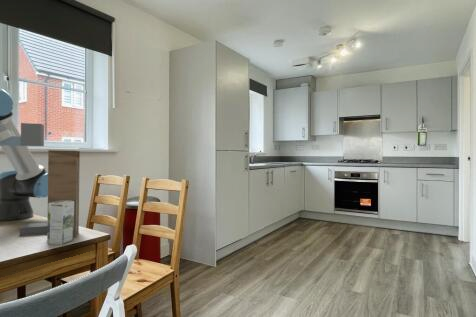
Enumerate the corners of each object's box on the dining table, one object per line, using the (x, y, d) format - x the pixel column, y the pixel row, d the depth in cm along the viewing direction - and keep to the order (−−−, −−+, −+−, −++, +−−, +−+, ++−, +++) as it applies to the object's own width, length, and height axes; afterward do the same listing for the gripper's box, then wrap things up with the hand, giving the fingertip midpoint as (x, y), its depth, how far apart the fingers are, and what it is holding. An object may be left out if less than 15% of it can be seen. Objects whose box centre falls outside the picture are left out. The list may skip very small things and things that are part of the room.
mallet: (-19, 144, 98) (-19, 121, 98) (-13, 145, 102) (-13, 122, 102) (40, 145, 104) (40, 123, 104) (43, 146, 109) (43, 125, 109)
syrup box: (59, 239, 105) (59, 199, 105) (74, 240, 104) (74, 200, 104) (46, 244, 99) (47, 202, 99) (62, 245, 98) (63, 202, 98)
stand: (52, 234, 111) (53, 150, 111) (78, 232, 114) (79, 151, 115) (47, 240, 104) (48, 150, 104) (75, 237, 107) (76, 150, 107)
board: (25, 231, 115) (25, 223, 115) (65, 228, 121) (65, 221, 121) (19, 235, 109) (19, 227, 109) (62, 232, 114) (62, 225, 114)
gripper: (-44, 174, 103) (24, 143, 111) (-72, 177, 88) (10, 141, 96) (-58, 156, 102) (13, 126, 110) (-88, 156, 87) (-4, 121, 95)
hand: (11, 133), depth 103 cm, fingers closed on mallet, 3 cm apart
